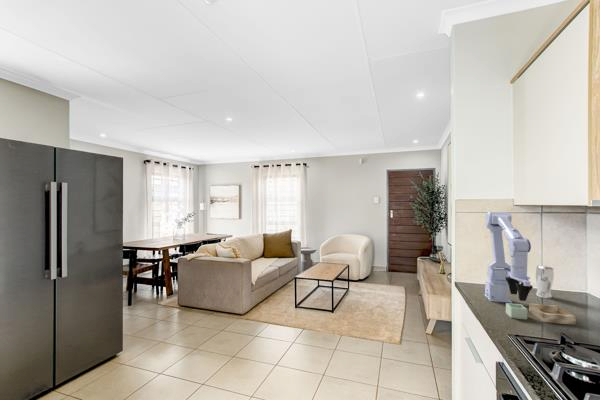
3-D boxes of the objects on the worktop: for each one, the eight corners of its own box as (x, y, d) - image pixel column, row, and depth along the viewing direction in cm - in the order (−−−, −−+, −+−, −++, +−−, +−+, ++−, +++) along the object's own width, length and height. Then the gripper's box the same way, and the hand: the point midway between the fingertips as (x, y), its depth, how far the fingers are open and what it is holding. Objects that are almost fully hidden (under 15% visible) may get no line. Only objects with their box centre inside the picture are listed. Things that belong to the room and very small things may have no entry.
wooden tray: (542, 321, 119) (542, 313, 119) (528, 310, 130) (529, 303, 129) (575, 324, 117) (576, 316, 116) (558, 313, 127) (559, 305, 127)
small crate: (511, 318, 123) (511, 307, 123) (505, 312, 128) (506, 303, 127) (527, 319, 121) (527, 309, 121) (521, 314, 126) (521, 304, 126)
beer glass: (548, 294, 149) (549, 266, 148) (555, 299, 142) (556, 270, 142) (532, 292, 151) (533, 265, 150) (538, 297, 145) (539, 268, 144)
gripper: (539, 271, 115) (538, 304, 116) (520, 262, 130) (519, 292, 130) (519, 270, 117) (518, 302, 118) (503, 261, 131) (502, 290, 132)
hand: (517, 297), depth 124 cm, fingers open, 7 cm apart
